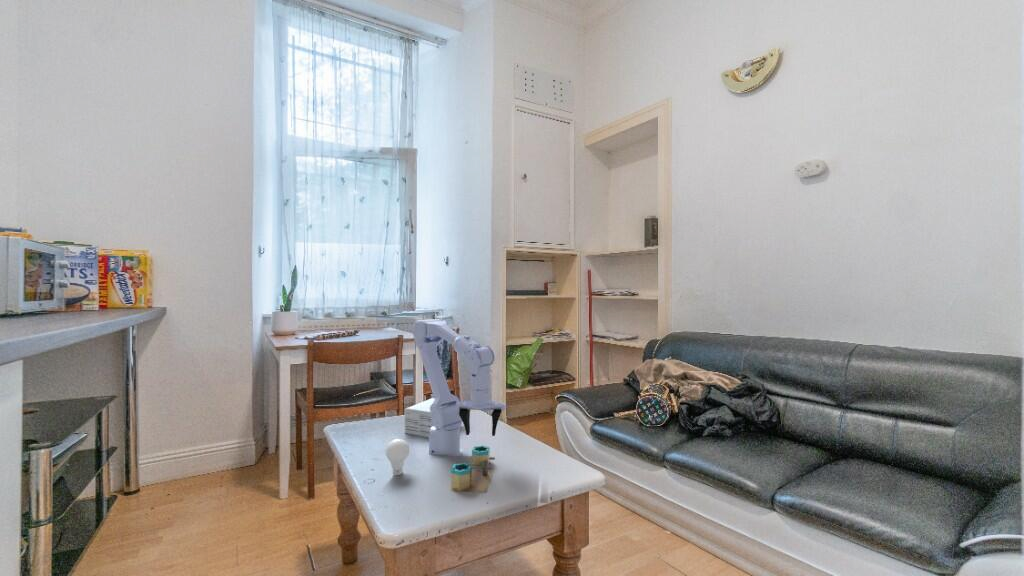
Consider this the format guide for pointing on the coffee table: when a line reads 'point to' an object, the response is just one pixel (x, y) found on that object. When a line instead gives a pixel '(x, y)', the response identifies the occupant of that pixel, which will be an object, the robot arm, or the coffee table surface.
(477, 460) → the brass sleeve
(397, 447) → the lightbulb
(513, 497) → the coffee table surface
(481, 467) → the tray
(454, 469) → the seated sleeve
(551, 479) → the coffee table surface
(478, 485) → the pin board
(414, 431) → the supplement box
